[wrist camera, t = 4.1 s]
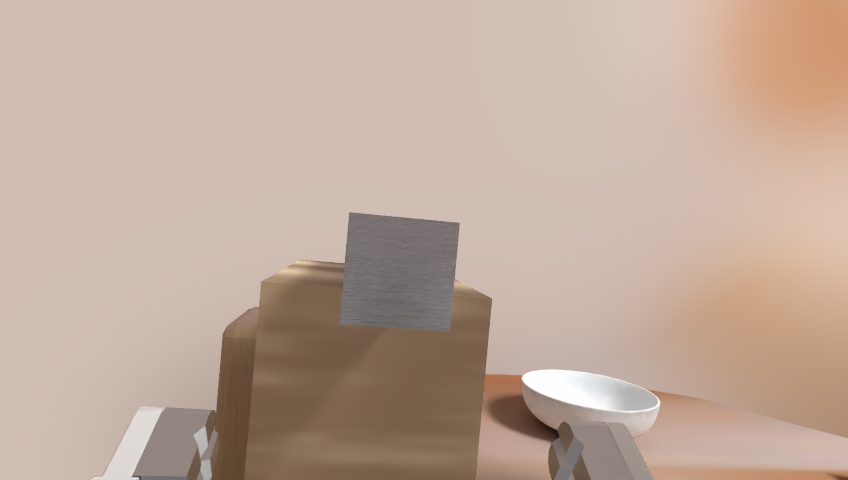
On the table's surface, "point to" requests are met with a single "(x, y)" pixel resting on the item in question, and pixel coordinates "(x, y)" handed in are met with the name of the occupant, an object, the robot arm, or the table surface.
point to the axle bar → (399, 272)
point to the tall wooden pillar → (362, 387)
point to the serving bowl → (588, 399)
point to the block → (235, 395)
